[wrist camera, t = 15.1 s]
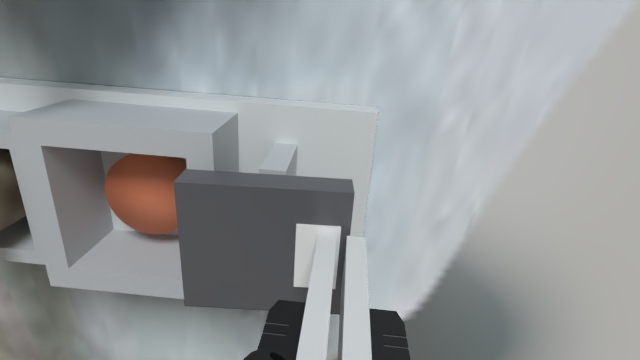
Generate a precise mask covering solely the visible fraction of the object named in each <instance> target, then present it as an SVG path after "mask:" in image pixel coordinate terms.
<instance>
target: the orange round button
mask: <svg viewBox="0 0 640 360" xmlns="http://www.w3.org/2000/svg"><path fill="white" fill-rule="evenodd" d="M185 169H187V164H186V160H185V159H184V158H180V157H168V156H157V155H145V154H133V153H130V154H128V155H127V156H125V157H123V158H122V159H120V160H118V161H117V162H116V163H114V164H113V165H112V167H111V168H110V169H109V171H108V173H107V175H106V178H105V194H106V198H107V201H108V203H109V205H110V207H111V209H112V210H113V212H114V213H115V214H116V216H117V217H118V218H119V219H120V220H121V221H123V222H124V223H125V224H126V225H128V226H130V227H131V228H133V229H135V230H137V231H140V232H143V233H147V234H165V233H169V232H172V231H174V230H176V229H177V228H178V226H177V215H176V204H175V193H174V181H175V180H176V179H177V178H178V177H179V176H180V174H181V173H182V172H183V171H184V170H185Z"/></svg>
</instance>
